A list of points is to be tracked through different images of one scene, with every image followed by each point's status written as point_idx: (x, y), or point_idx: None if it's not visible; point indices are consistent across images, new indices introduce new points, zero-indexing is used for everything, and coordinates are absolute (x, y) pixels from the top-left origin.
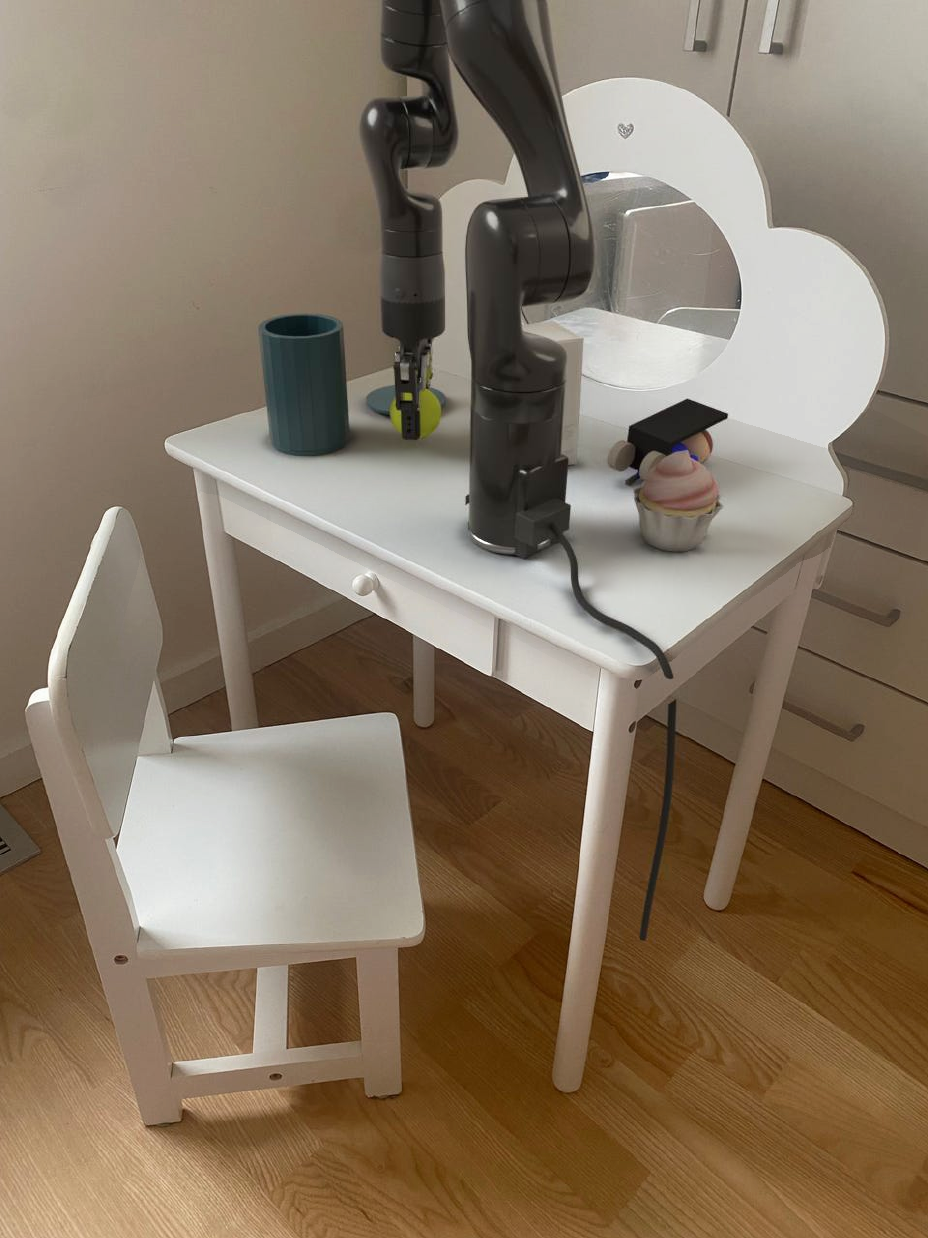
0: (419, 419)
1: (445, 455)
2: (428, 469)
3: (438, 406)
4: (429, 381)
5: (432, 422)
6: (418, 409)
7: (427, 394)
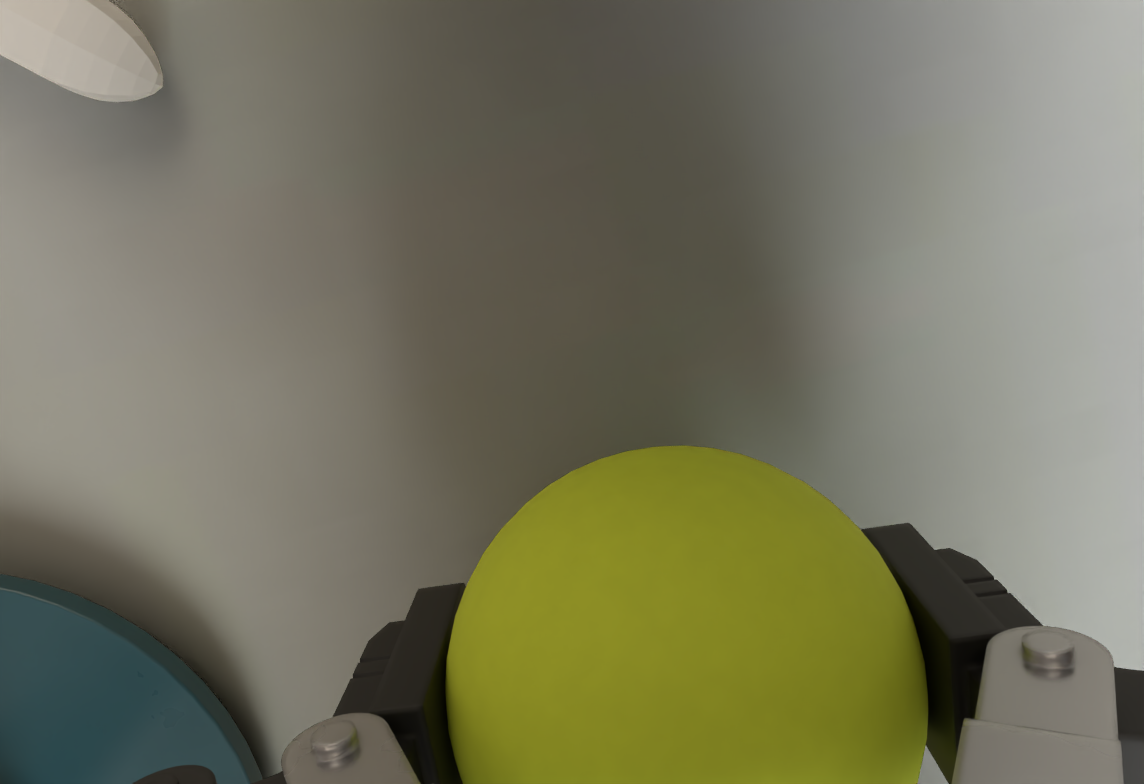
0: (957, 590)
1: (761, 315)
2: (1018, 359)
3: (701, 502)
4: (324, 762)
5: (804, 484)
6: (1086, 641)
7: (747, 669)
